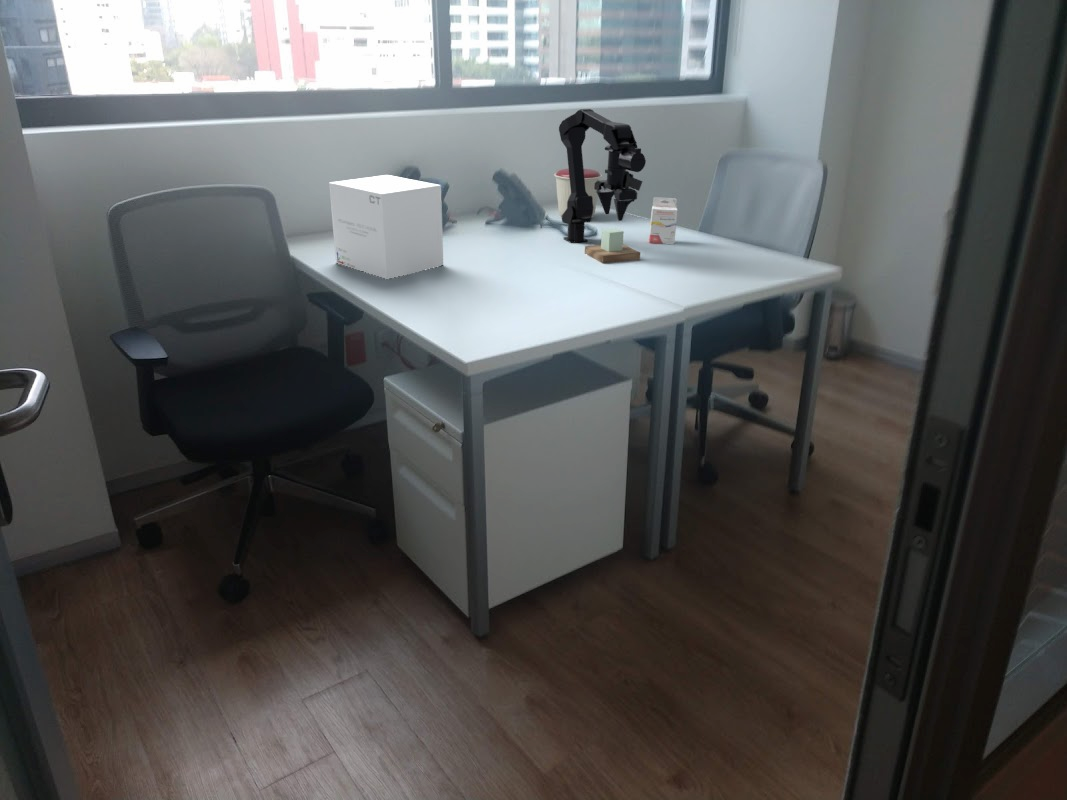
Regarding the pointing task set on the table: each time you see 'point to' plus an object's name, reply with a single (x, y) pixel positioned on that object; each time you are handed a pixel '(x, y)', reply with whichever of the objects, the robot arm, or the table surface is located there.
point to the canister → (565, 189)
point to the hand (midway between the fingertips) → (613, 217)
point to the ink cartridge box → (663, 221)
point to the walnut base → (612, 254)
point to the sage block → (612, 239)
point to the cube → (387, 225)
